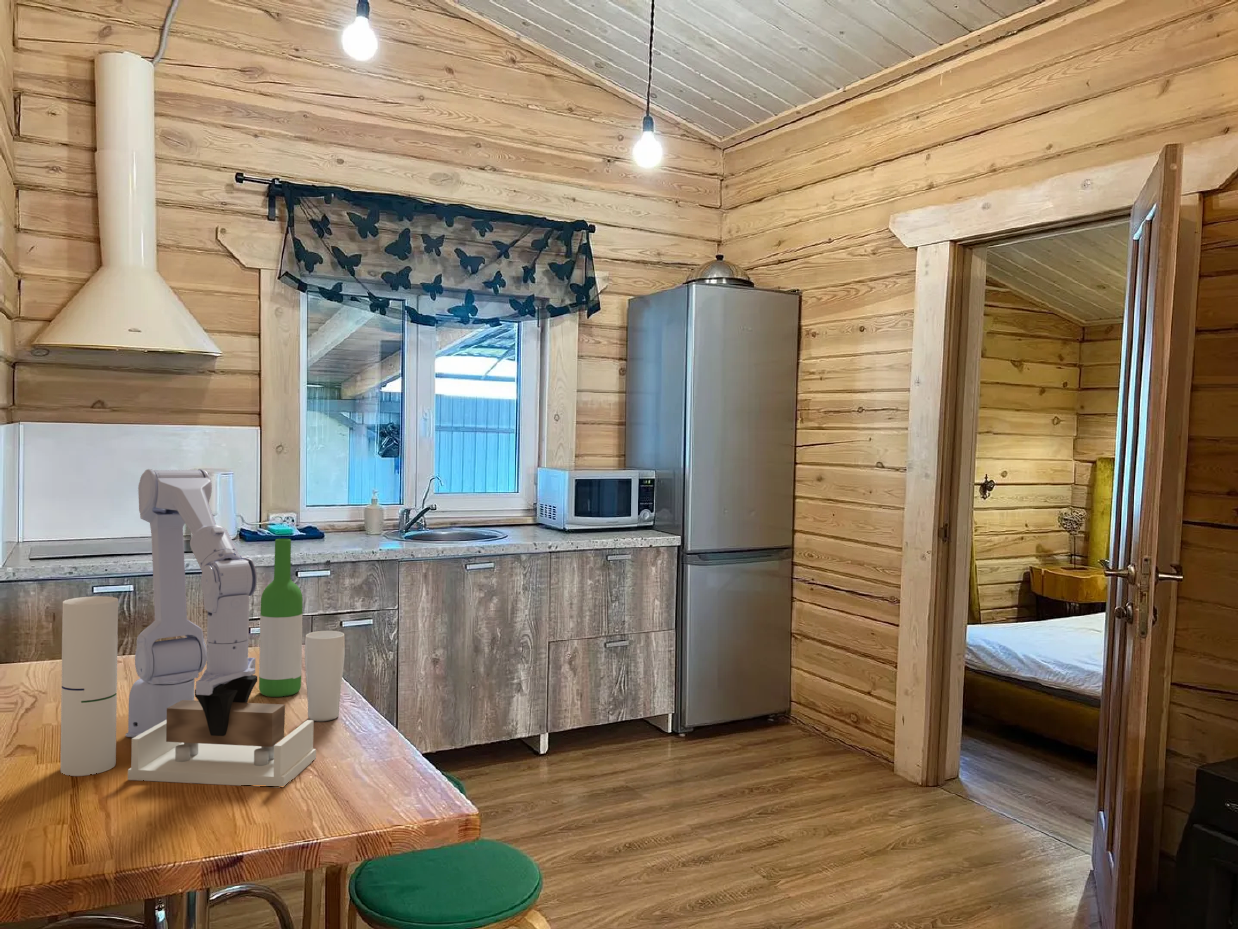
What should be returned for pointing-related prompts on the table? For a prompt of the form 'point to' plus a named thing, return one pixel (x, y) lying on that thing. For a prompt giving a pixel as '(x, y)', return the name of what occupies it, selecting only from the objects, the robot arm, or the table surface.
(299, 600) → the wine bottle
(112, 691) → the cylindrical container
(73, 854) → the table surface
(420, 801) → the table surface
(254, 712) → the brown wooden bar
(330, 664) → the drinking glass
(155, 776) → the shelf stand
